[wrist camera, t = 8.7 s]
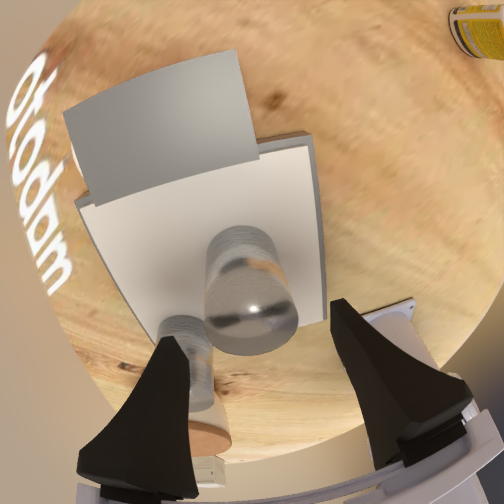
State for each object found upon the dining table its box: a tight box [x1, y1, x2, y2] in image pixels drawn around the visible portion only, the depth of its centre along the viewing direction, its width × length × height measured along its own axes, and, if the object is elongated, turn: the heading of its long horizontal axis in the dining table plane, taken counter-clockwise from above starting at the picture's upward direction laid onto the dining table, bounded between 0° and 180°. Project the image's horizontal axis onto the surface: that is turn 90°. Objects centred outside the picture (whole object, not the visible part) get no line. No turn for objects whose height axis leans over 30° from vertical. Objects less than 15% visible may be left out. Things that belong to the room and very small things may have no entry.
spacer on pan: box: [155, 315, 214, 413], centre depth 18 cm, size 4×4×6 cm
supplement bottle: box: [450, 5, 504, 60], centre depth 7 cm, size 5×5×8 cm
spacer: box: [204, 225, 299, 356], centre depth 15 cm, size 4×4×6 cm
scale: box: [63, 49, 327, 346], centre depth 16 cm, size 20×15×5 cm
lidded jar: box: [188, 392, 232, 457], centre depth 25 cm, size 11×11×9 cm
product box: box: [192, 455, 226, 488], centre depth 44 cm, size 6×6×7 cm
